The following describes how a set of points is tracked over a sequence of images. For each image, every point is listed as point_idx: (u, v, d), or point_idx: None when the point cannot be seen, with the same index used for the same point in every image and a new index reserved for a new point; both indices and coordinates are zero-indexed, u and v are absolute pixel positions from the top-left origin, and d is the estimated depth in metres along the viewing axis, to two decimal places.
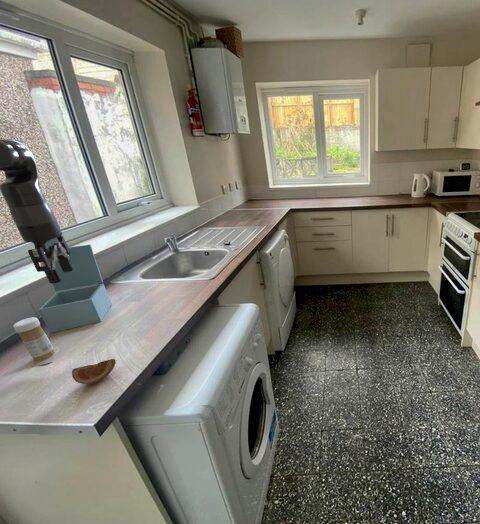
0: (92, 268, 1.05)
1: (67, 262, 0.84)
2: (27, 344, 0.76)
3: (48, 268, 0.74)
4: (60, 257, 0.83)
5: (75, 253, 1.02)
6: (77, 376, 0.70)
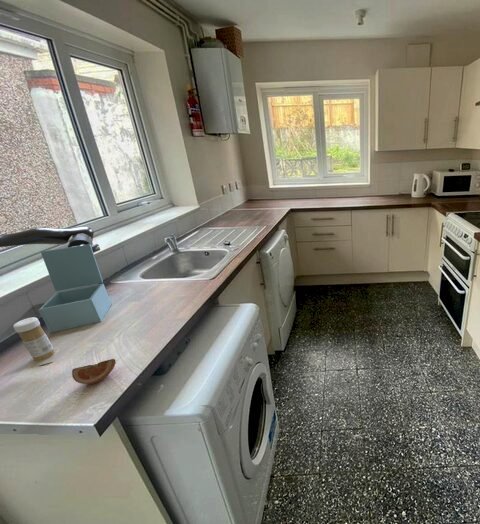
0: (92, 268, 1.05)
1: None
2: (27, 344, 0.76)
3: None
4: None
5: (75, 253, 1.02)
6: (77, 376, 0.70)
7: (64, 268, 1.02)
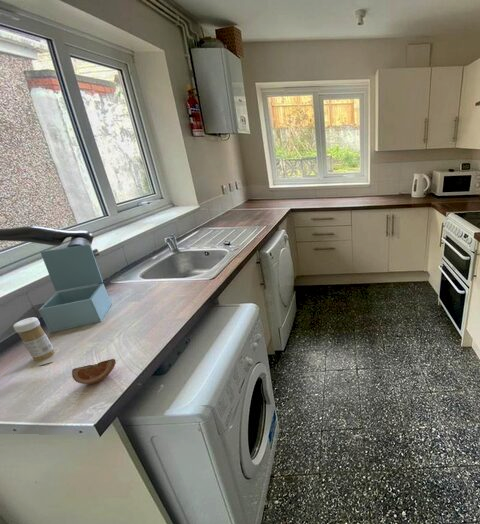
0: (92, 268, 1.05)
1: None
2: (27, 344, 0.76)
3: None
4: None
5: (75, 253, 1.02)
6: (77, 376, 0.70)
7: (64, 268, 1.02)
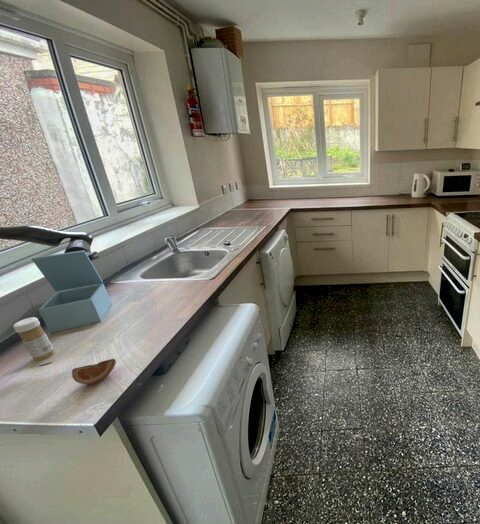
0: (90, 271, 1.03)
1: None
2: (27, 344, 0.76)
3: None
4: None
5: (70, 259, 0.98)
6: (77, 376, 0.70)
7: (60, 272, 0.99)
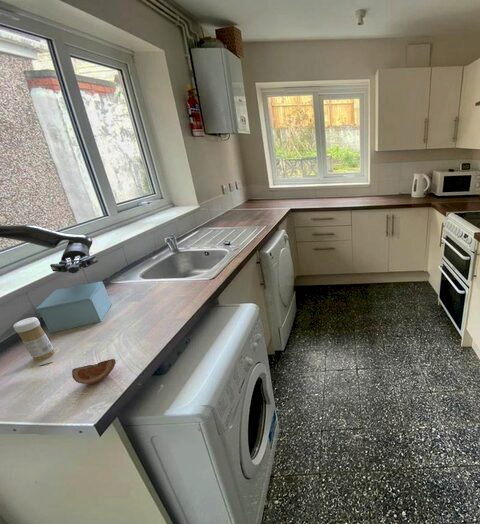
0: None
1: None
2: (27, 344, 0.76)
3: (60, 266, 0.97)
4: None
5: None
6: (77, 376, 0.70)
7: None
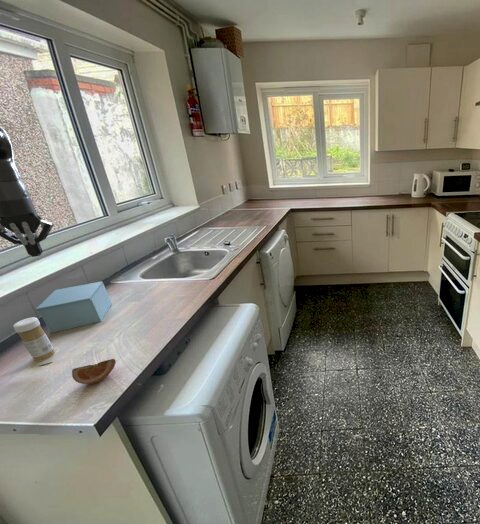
0: None
1: None
2: (27, 344, 0.76)
3: (13, 243, 0.83)
4: None
5: None
6: (77, 376, 0.70)
7: None
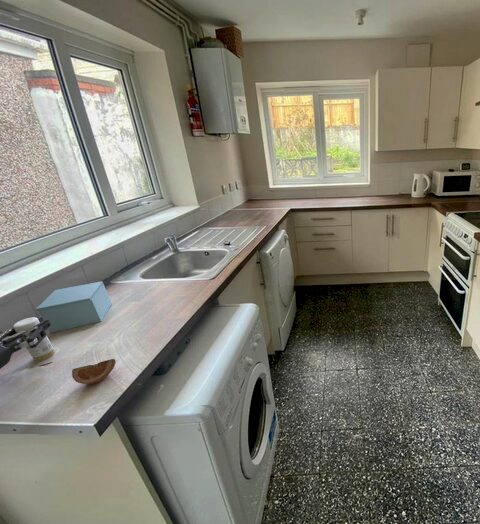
0: None
1: None
2: None
3: None
4: None
5: None
6: (77, 376, 0.70)
7: None
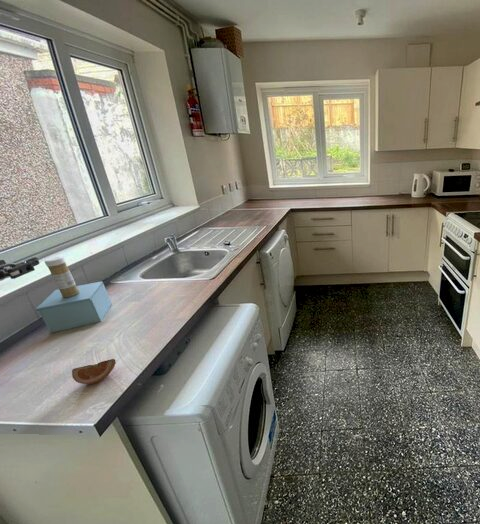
0: None
1: None
2: (55, 277, 0.93)
3: None
4: None
5: None
6: (77, 376, 0.70)
7: None
